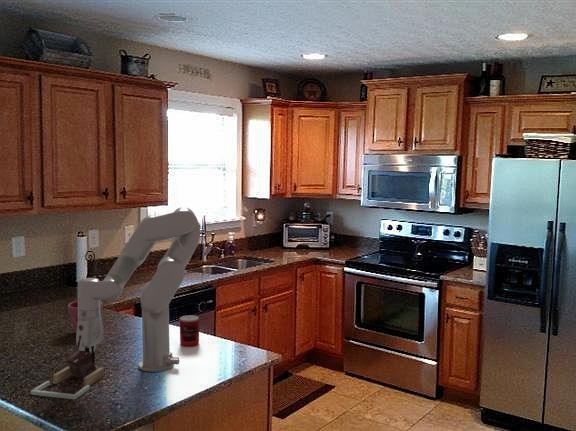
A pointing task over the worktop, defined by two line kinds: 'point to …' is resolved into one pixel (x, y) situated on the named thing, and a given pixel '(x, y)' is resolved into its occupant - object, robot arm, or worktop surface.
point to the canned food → (189, 330)
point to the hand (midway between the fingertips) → (89, 363)
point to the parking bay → (56, 394)
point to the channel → (87, 380)
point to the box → (81, 364)
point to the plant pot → (74, 313)
